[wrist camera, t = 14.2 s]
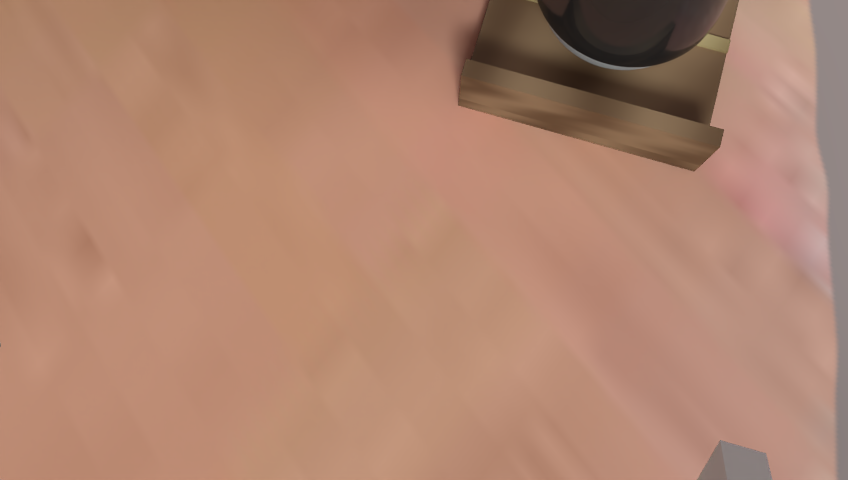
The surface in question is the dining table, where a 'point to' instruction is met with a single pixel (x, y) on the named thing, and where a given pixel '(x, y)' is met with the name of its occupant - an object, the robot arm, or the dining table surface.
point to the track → (597, 88)
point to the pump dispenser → (630, 29)
